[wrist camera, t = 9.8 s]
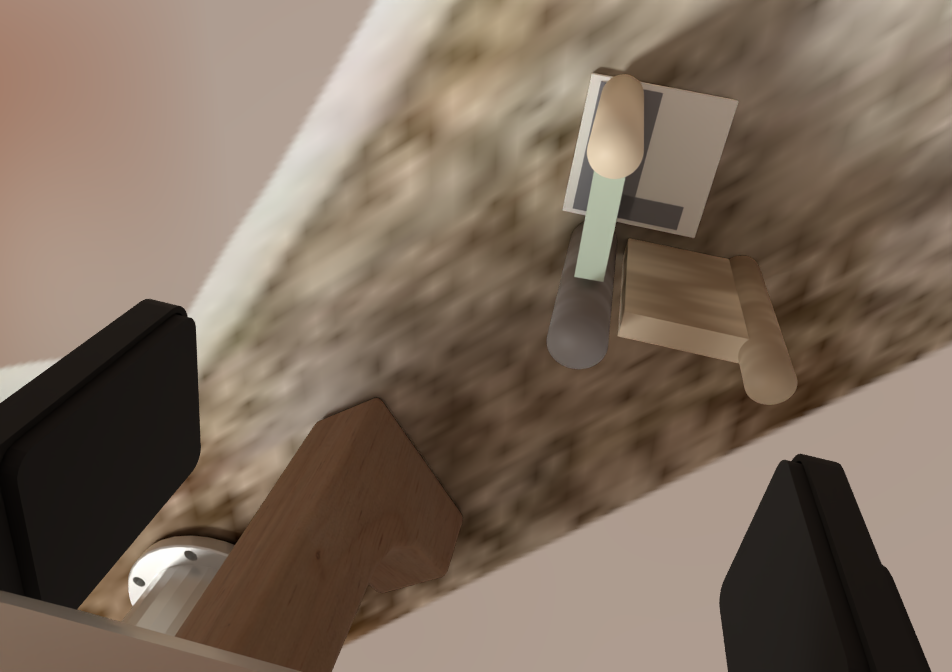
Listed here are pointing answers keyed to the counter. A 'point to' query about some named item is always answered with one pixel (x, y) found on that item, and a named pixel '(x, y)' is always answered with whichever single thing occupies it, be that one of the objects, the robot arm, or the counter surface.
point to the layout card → (661, 158)
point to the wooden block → (328, 544)
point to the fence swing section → (610, 168)
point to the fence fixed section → (675, 312)
